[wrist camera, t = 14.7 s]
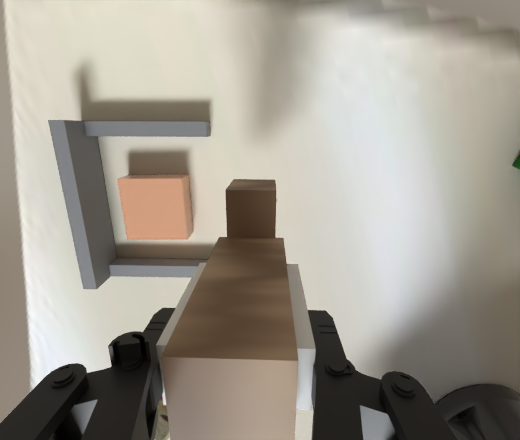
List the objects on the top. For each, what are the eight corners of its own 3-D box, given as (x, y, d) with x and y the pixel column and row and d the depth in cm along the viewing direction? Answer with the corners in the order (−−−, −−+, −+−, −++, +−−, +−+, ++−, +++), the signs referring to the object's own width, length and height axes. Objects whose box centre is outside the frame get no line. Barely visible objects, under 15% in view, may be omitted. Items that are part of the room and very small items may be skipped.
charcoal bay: (209, 121, 31) (199, 120, 26) (216, 270, 37) (209, 291, 32) (81, 121, 32) (48, 120, 27) (107, 268, 37) (83, 288, 32)
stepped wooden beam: (281, 179, 21) (303, 265, 7) (278, 300, 24) (290, 519, 10) (227, 179, 21) (149, 263, 7) (230, 299, 24) (179, 514, 10)
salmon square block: (189, 174, 33) (181, 178, 31) (194, 230, 36) (187, 239, 33) (130, 174, 34) (117, 178, 31) (138, 230, 36) (127, 239, 33)
